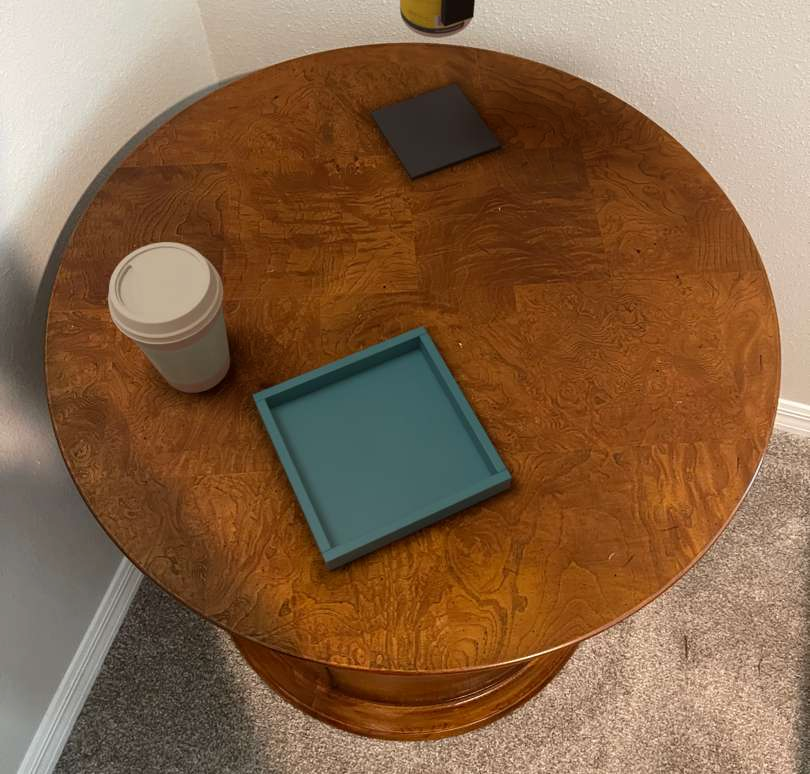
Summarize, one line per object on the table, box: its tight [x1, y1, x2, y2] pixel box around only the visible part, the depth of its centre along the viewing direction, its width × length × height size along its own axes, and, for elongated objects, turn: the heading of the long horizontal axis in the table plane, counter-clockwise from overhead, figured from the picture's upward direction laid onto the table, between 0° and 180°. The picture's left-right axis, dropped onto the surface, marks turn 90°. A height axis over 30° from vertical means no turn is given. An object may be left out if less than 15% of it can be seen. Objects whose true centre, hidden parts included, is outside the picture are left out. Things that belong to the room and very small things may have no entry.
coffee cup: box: [107, 241, 231, 394], centre depth 66 cm, size 8×8×12 cm
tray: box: [252, 325, 512, 572], centre depth 66 cm, size 16×16×2 cm
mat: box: [369, 83, 501, 181], centre depth 85 cm, size 10×10×1 cm
